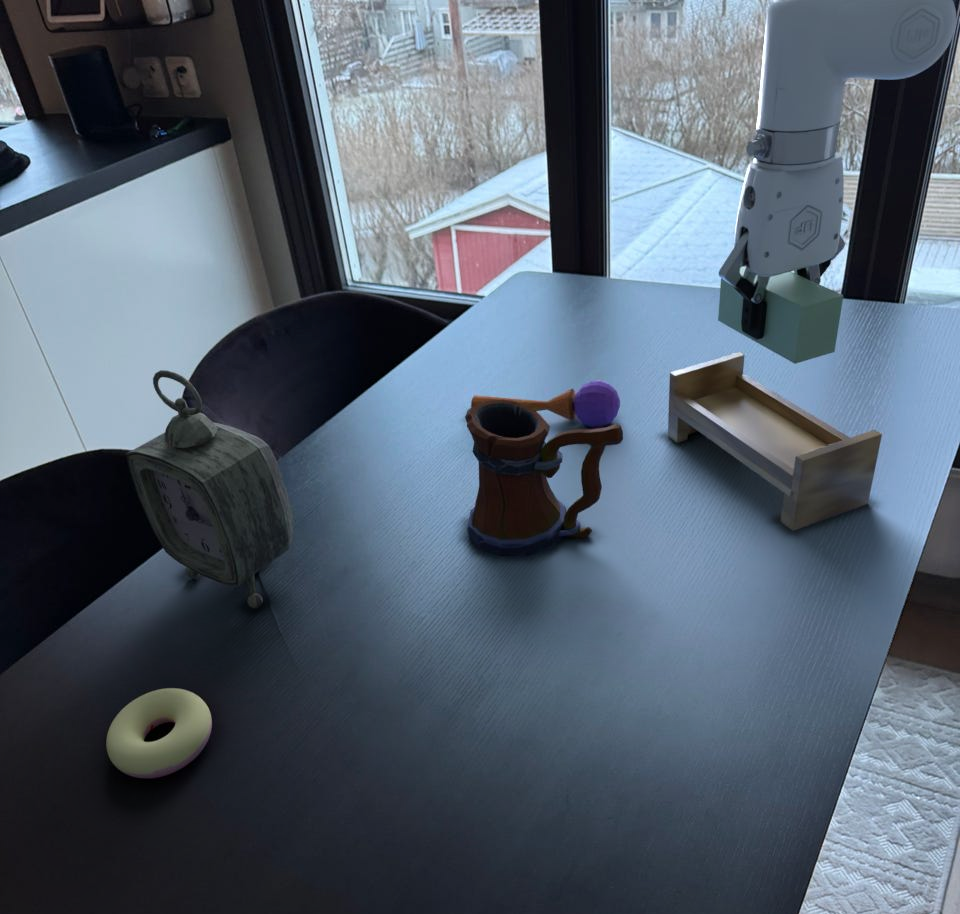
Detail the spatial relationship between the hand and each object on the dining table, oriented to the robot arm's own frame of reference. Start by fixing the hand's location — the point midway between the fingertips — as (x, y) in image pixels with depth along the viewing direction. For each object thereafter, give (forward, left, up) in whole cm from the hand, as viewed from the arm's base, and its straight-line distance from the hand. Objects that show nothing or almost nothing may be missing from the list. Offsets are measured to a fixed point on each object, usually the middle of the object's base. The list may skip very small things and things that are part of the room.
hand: (774, 326), depth 99 cm
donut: (+74, +12, -17) cm, 77 cm away
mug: (+29, 0, -17) cm, 34 cm away
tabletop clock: (+62, -10, -17) cm, 65 cm away
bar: (0, 0, -1) cm, 1 cm away
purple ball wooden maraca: (+17, -24, -17) cm, 34 cm away
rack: (+1, +1, -17) cm, 17 cm away
